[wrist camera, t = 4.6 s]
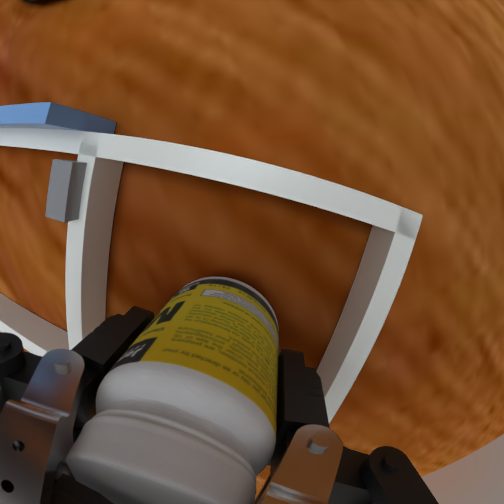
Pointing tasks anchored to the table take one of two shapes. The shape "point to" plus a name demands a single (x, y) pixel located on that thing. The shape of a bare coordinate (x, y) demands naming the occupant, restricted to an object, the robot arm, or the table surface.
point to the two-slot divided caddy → (207, 166)
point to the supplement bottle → (187, 403)
